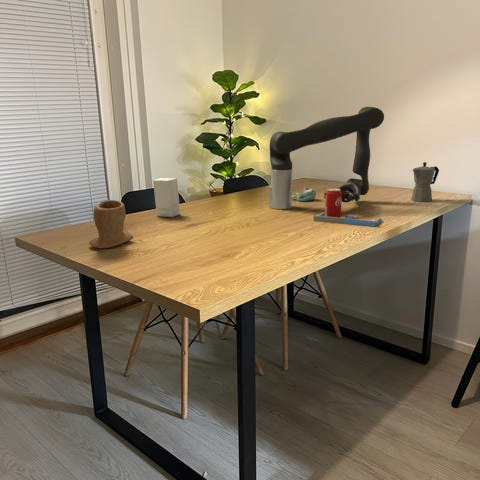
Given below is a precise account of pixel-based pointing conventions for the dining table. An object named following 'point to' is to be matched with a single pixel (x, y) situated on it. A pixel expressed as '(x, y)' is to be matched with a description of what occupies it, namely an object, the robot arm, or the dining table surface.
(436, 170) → the coffeepot
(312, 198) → the stuffed animal
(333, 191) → the beverage can
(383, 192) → the dining table surface
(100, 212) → the brown hollow piece
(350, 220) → the e-shaped bracket
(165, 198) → the skincare box
